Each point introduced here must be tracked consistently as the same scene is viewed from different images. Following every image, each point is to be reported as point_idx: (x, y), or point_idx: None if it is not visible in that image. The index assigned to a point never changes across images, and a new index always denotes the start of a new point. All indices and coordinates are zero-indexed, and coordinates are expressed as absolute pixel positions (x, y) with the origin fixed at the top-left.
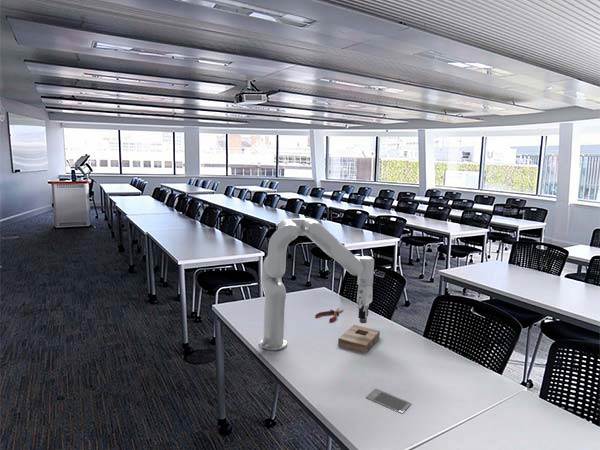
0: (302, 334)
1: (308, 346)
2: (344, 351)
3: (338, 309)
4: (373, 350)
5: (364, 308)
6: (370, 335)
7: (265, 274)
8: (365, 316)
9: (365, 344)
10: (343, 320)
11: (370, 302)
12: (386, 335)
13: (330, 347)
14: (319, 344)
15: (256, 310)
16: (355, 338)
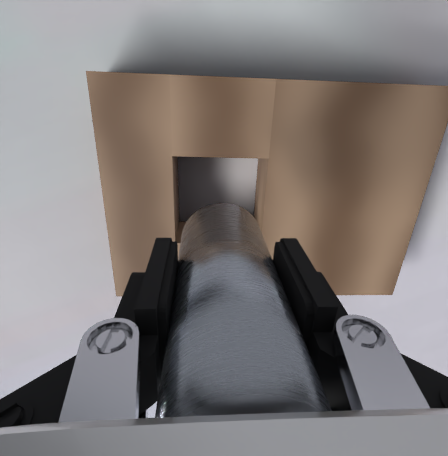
0: None
1: (430, 363)
2: (437, 211)
3: None
4: (361, 41)
5: (376, 369)
6: (241, 119)
7: None
8: (260, 249)
9: (437, 97)
10: (25, 364)
11: (141, 446)
12: (22, 26)
13: (410, 288)
14: (393, 338)
15: None
16: (352, 205)
